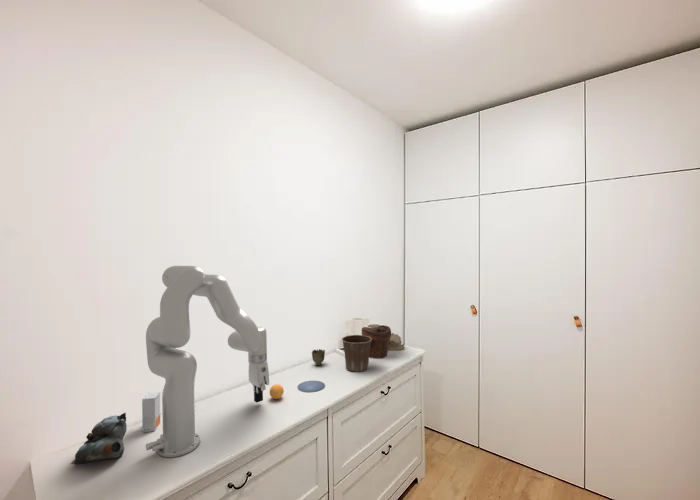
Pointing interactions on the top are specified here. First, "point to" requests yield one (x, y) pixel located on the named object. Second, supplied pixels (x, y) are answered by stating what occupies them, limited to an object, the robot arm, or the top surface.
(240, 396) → the top surface
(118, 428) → the lucky cat figurine
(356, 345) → the plant pot
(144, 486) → the top surface
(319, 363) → the cup
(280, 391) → the ball
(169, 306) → the robot arm
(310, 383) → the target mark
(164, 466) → the top surface
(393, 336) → the ceramic model
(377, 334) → the brown lidded basket
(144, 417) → the skincare box
